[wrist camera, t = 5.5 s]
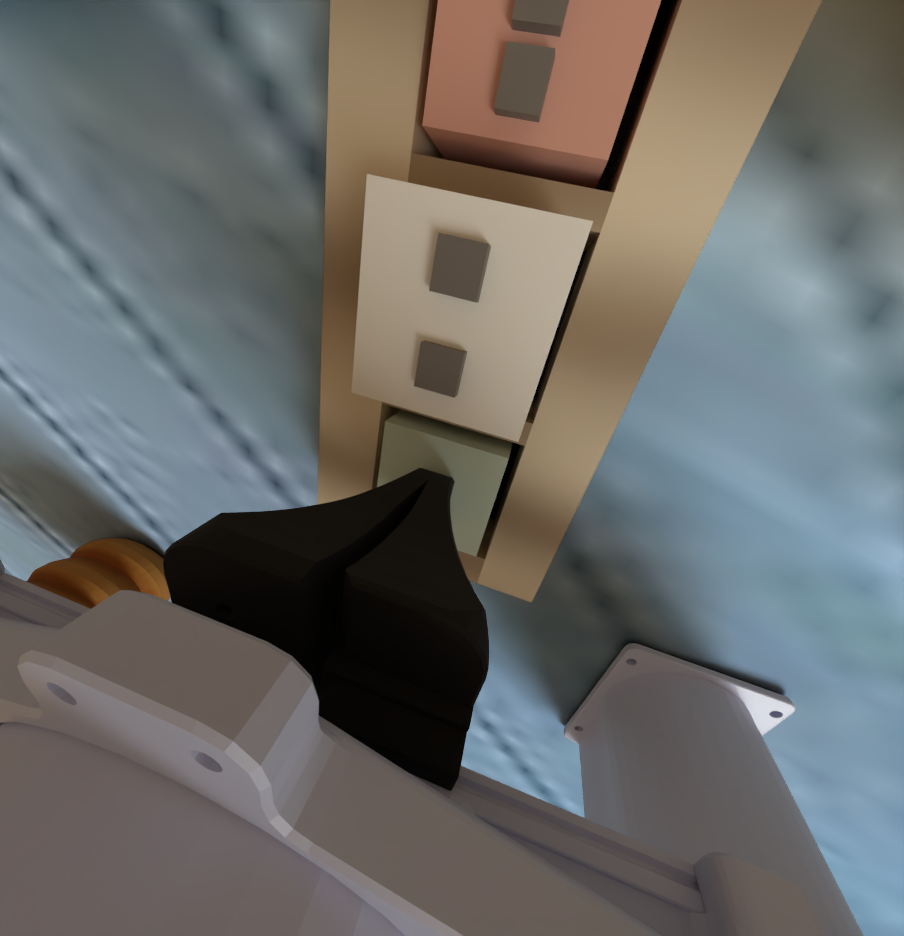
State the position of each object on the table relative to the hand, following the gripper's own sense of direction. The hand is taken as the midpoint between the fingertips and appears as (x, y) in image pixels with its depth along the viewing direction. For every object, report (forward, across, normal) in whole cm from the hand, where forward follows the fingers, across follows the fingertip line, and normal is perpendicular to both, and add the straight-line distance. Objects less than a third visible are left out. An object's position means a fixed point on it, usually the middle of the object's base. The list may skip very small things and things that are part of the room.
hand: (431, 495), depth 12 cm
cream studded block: (+1, 0, -6) cm, 6 cm away
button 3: (+3, 0, -12) cm, 12 cm away
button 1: (+3, 0, 0) cm, 3 cm away
